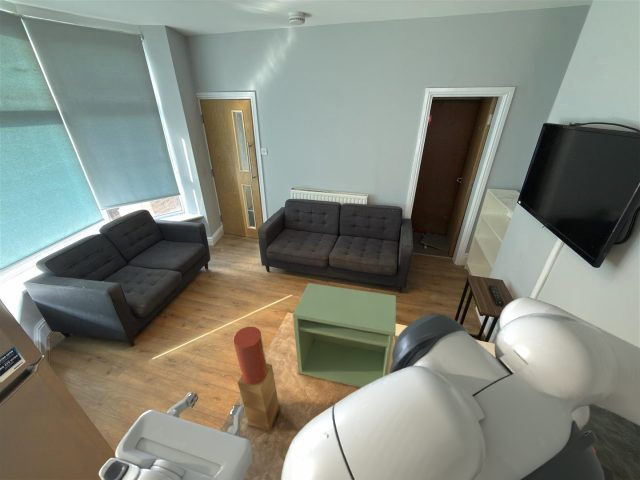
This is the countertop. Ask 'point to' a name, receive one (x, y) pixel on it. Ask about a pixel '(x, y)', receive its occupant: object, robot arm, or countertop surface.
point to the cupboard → (344, 334)
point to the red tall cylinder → (250, 354)
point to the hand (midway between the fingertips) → (216, 400)
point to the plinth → (260, 400)
